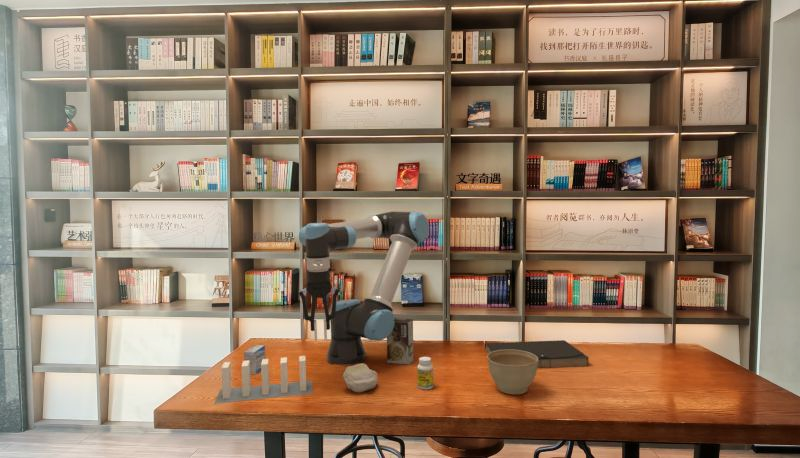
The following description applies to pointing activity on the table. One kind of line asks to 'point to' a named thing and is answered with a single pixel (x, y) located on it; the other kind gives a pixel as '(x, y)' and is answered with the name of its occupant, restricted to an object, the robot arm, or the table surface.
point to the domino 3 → (265, 376)
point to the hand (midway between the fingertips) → (320, 339)
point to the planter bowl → (512, 370)
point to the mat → (273, 393)
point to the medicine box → (255, 357)
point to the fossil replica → (360, 378)
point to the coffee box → (400, 342)
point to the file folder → (546, 352)
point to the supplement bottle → (425, 373)
